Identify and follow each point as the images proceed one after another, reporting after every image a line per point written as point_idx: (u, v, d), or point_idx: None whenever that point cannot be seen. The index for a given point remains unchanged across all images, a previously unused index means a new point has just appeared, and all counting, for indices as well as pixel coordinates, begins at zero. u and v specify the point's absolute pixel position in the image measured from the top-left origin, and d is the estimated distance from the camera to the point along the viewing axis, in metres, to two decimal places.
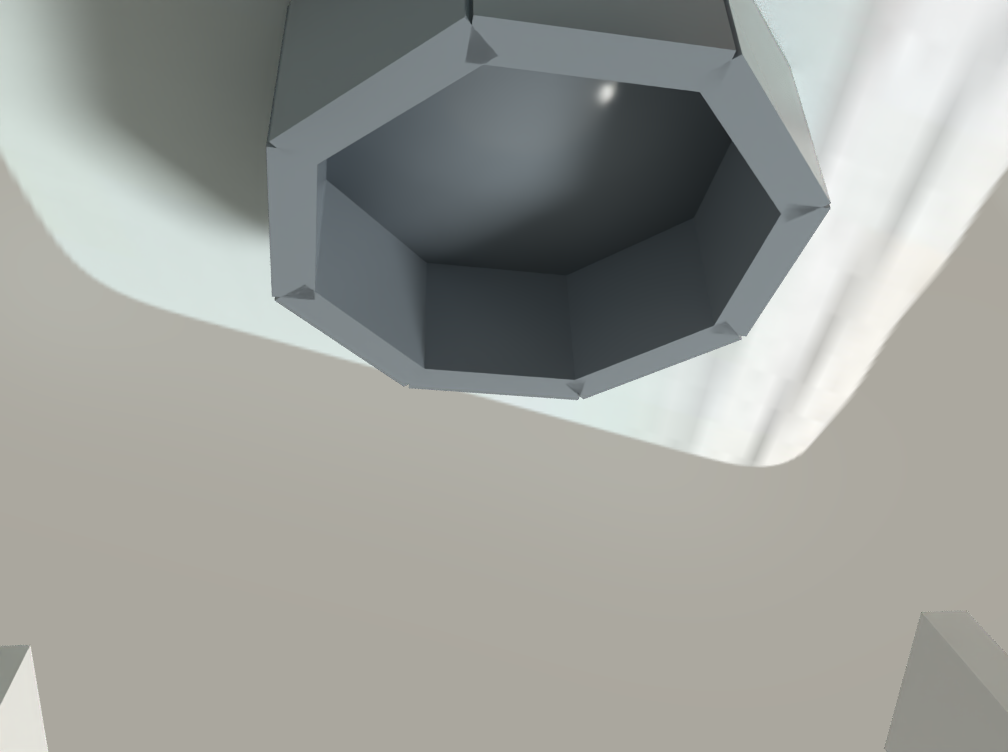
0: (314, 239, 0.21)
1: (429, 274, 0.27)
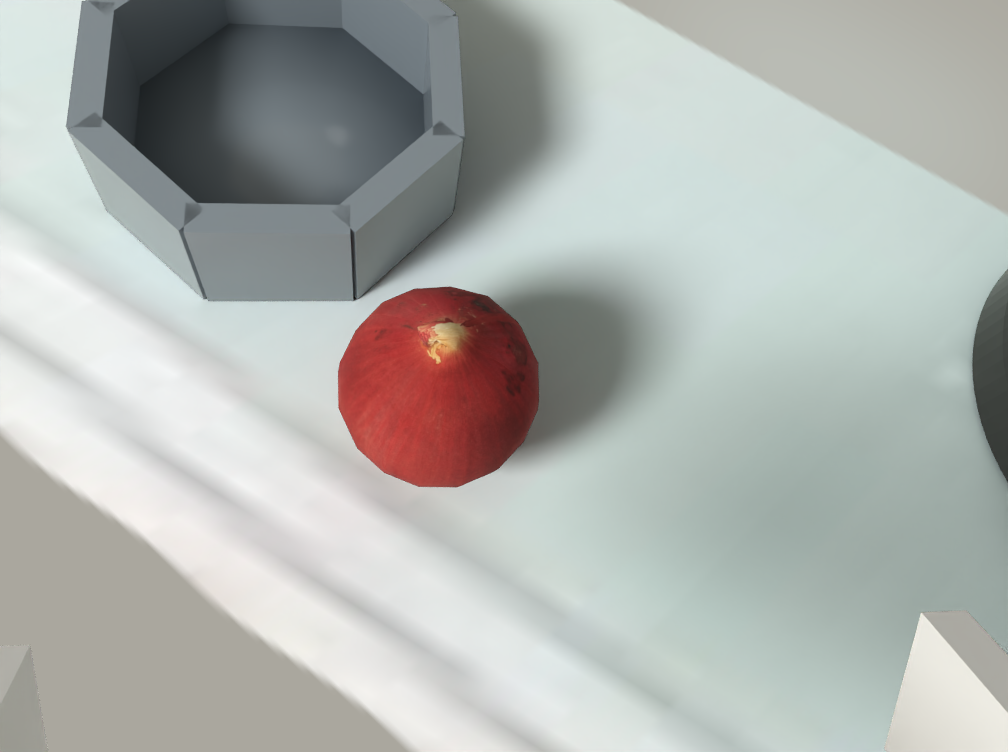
0: None
1: (225, 16, 0.35)
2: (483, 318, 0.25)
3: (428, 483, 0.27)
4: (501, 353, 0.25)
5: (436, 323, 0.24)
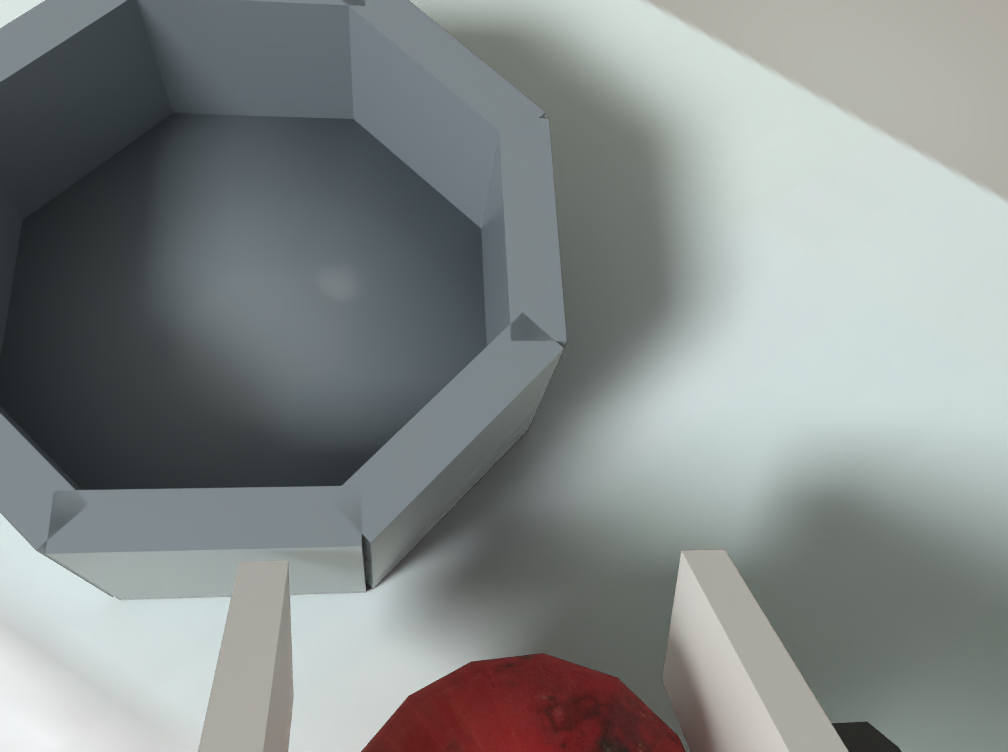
0: (415, 59, 0.19)
1: (165, 103, 0.22)
2: None
3: None
4: None
5: None
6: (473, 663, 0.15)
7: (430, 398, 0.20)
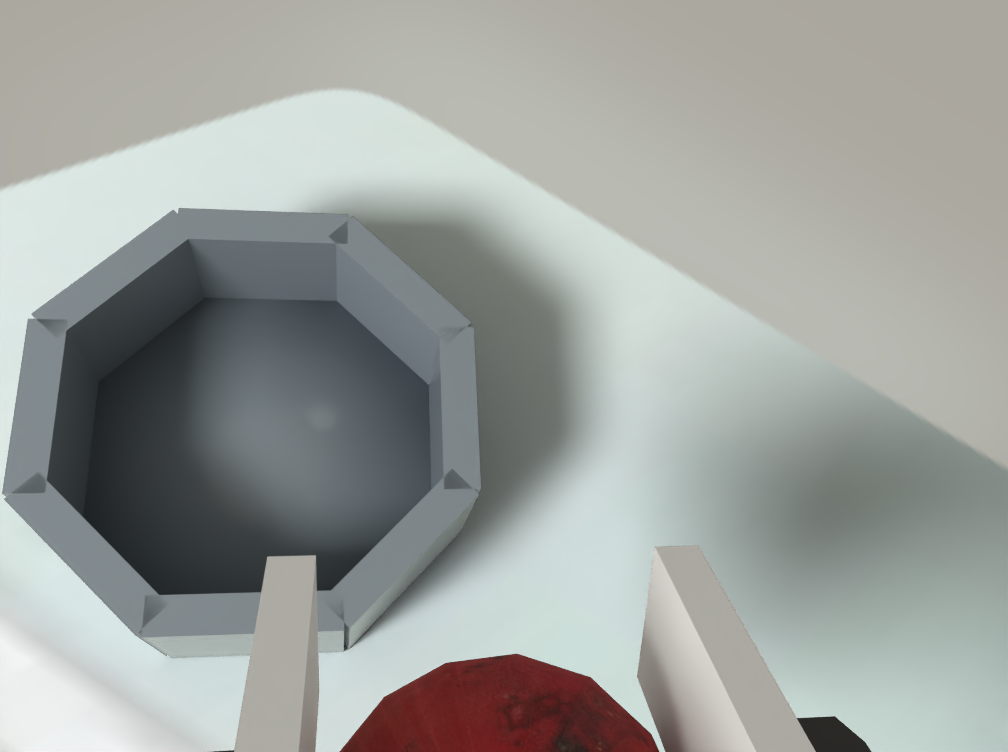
0: (382, 284, 0.28)
1: (200, 293, 0.30)
2: None
3: None
4: None
5: None
6: (447, 664, 0.15)
7: (390, 512, 0.29)
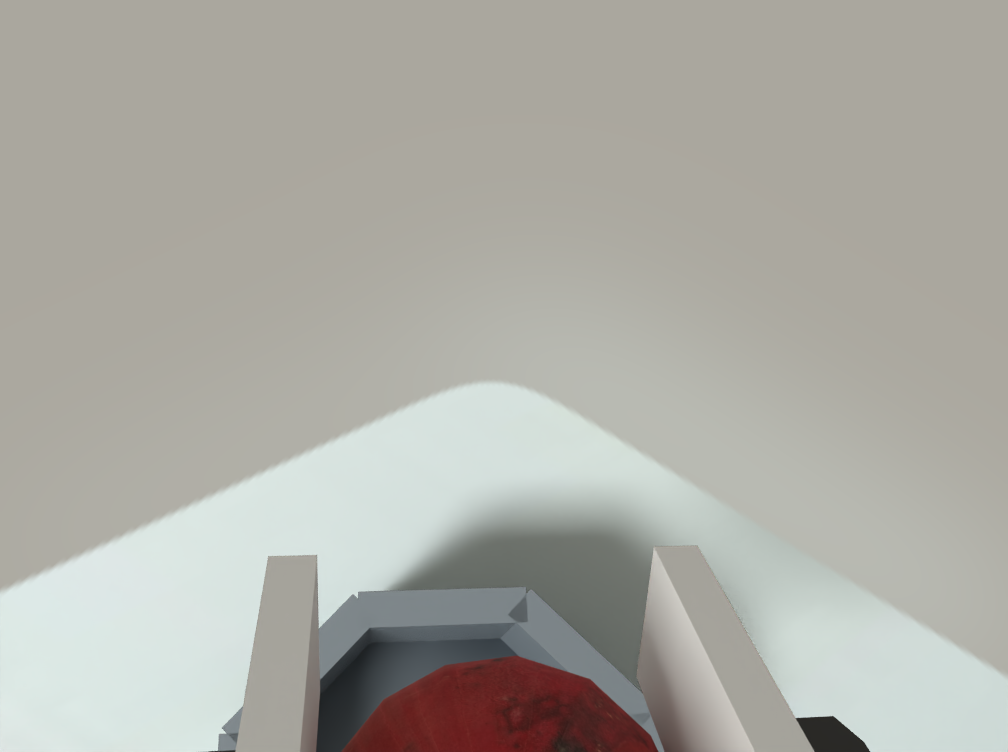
0: (565, 668, 0.27)
1: (367, 643, 0.30)
2: None
3: None
4: None
5: None
6: (446, 666, 0.15)
7: None
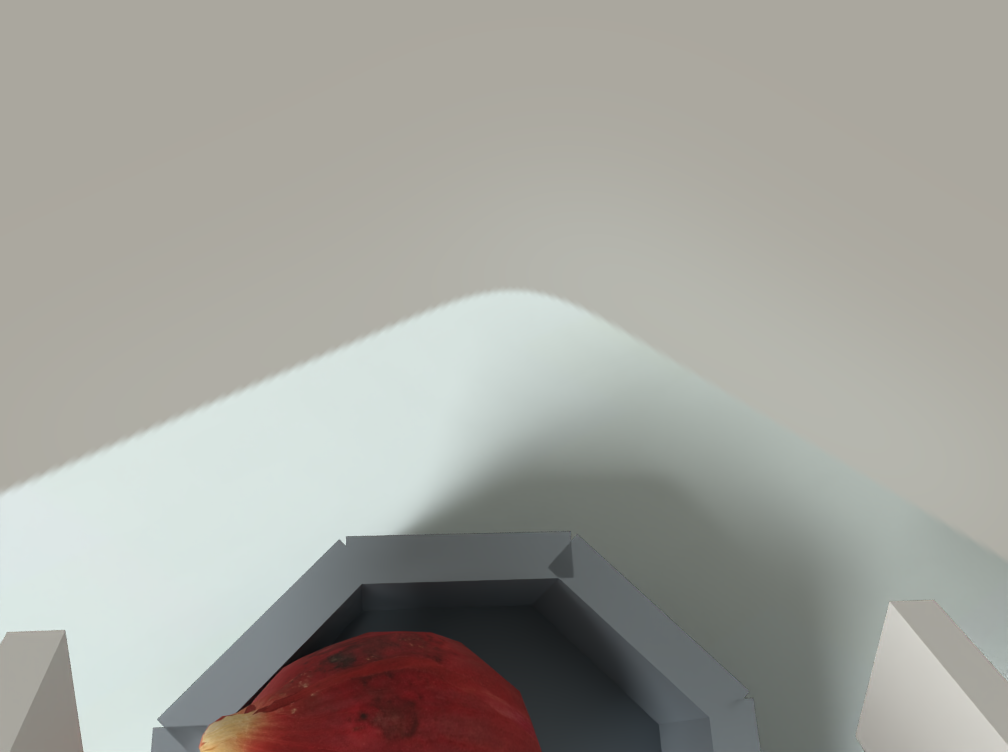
0: (626, 638, 0.20)
1: (359, 611, 0.23)
2: (320, 684, 0.17)
3: None
4: (343, 734, 0.16)
5: (212, 723, 0.16)
6: None
7: None
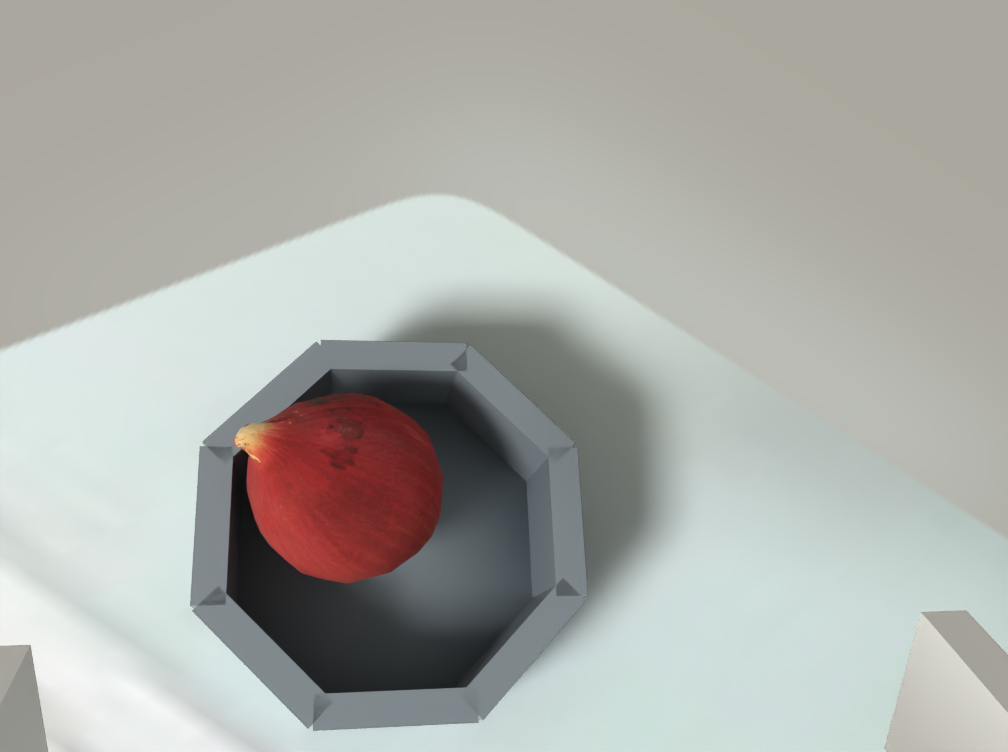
0: (498, 408, 0.32)
1: None
2: (305, 411, 0.28)
3: (332, 576, 0.28)
4: (319, 434, 0.27)
5: (241, 428, 0.27)
6: None
7: (497, 599, 0.33)
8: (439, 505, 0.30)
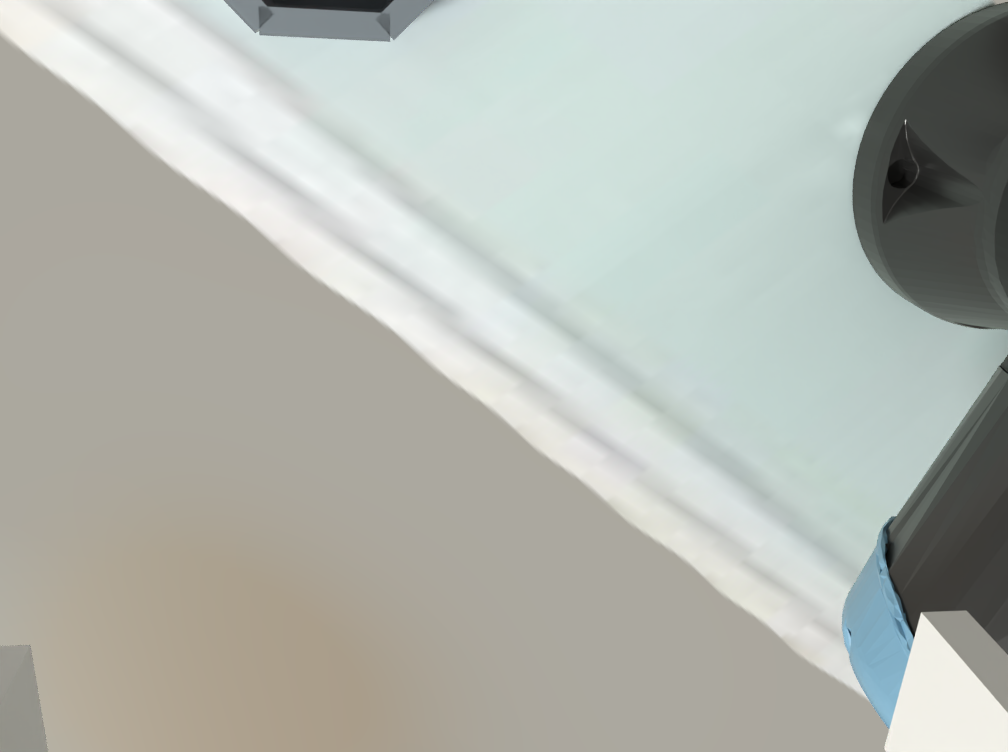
0: None
1: None
2: None
3: None
4: None
5: None
6: None
7: None
8: None
